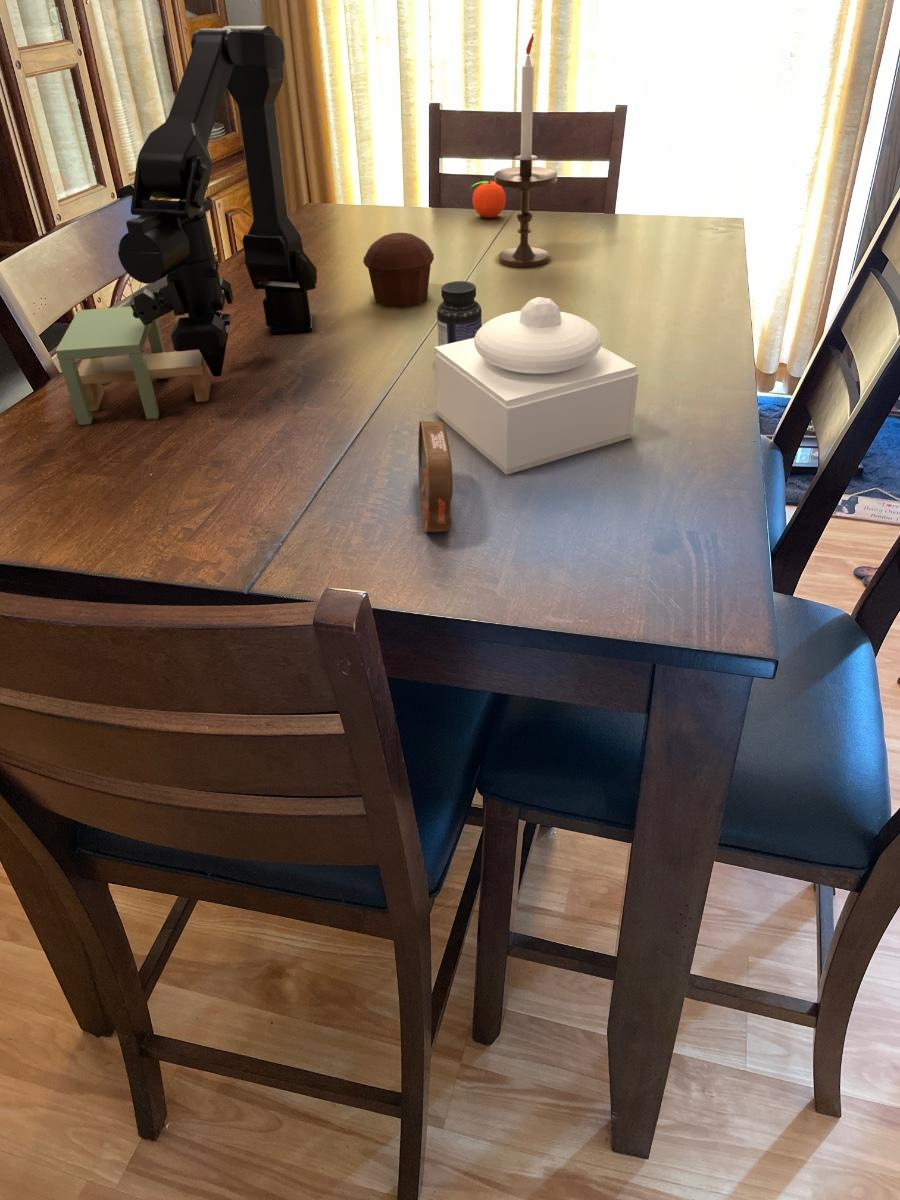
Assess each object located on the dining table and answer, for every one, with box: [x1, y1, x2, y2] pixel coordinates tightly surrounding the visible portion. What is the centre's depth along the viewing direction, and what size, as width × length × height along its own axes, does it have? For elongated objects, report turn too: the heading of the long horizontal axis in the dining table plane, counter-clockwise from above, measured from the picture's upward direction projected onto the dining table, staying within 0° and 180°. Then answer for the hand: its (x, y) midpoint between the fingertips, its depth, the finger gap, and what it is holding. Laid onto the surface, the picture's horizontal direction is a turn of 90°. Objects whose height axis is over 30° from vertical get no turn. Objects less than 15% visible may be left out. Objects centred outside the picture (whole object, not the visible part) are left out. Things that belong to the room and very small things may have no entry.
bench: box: [77, 350, 212, 412], centre depth 118 cm, size 16×6×5 cm, turn 98°
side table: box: [55, 305, 170, 426], centre depth 116 cm, size 10×14×10 cm
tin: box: [418, 420, 454, 533], centre depth 92 cm, size 15×3×8 cm, turn 5°
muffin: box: [362, 232, 435, 309], centre depth 143 cm, size 12×11×10 cm
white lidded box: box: [433, 296, 639, 476], centre depth 105 cm, size 18×18×16 cm
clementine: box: [467, 179, 507, 219], centre depth 181 cm, size 8×7×7 cm
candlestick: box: [493, 32, 558, 269], centre depth 150 cm, size 11×11×35 cm
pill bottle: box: [436, 280, 483, 346], centre depth 121 cm, size 6×6×11 cm
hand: (217, 375), depth 119 cm, fingers closed, pressing on bench
